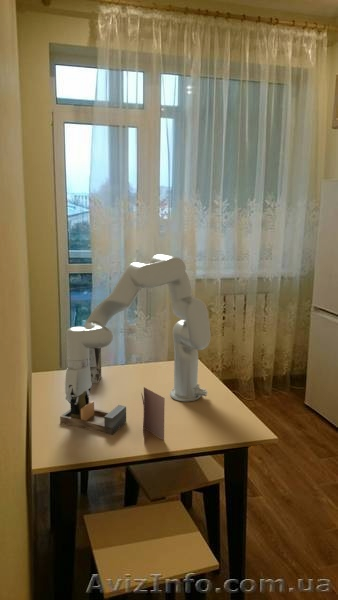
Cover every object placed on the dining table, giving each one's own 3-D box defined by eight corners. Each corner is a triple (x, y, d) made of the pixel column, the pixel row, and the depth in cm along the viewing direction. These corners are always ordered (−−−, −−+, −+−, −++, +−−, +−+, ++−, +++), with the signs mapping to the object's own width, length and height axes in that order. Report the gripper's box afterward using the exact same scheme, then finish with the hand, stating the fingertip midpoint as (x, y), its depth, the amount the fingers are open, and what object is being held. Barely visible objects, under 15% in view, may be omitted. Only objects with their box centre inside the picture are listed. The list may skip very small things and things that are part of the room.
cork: (80, 422, 152) (79, 392, 150) (67, 418, 155) (66, 389, 153) (91, 415, 157) (90, 387, 155) (79, 411, 160) (78, 383, 158)
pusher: (94, 414, 158) (94, 401, 157) (83, 422, 151) (83, 409, 150) (92, 413, 158) (91, 400, 157) (80, 422, 152) (80, 408, 151)
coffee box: (98, 383, 189) (97, 347, 186) (83, 383, 190) (82, 347, 186) (101, 375, 198) (101, 341, 195) (87, 375, 198) (87, 341, 195)
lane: (126, 421, 155) (126, 406, 154) (112, 434, 146) (112, 418, 144) (76, 411, 162) (76, 396, 161) (60, 423, 153) (59, 407, 152)
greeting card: (141, 427, 151) (141, 386, 148) (162, 427, 151) (162, 386, 148) (141, 444, 140) (141, 401, 137) (164, 444, 140) (164, 400, 137)
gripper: (83, 353, 161) (84, 399, 165) (54, 368, 145) (56, 418, 149) (100, 356, 158) (101, 402, 162) (73, 371, 143) (75, 422, 146)
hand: (80, 409), depth 155 cm, fingers open, 5 cm apart
